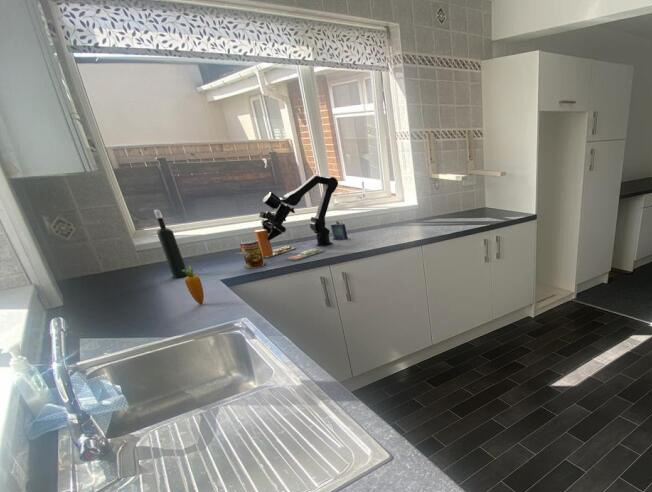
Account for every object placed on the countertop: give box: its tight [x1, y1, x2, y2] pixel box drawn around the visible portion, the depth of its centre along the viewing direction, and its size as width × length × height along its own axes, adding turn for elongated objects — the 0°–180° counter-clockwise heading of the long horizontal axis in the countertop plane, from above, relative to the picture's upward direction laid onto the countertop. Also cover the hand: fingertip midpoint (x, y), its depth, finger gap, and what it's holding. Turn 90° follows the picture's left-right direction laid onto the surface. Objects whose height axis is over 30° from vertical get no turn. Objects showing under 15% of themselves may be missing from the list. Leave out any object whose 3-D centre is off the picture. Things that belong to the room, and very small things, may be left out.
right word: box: [286, 248, 324, 261], centre depth 225 cm, size 19×7×2 cm, turn 158°
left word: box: [262, 245, 297, 258], centre depth 232 cm, size 19×7×2 cm, turn 158°
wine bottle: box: [153, 209, 188, 279], centre depth 190 cm, size 6×6×30 cm
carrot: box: [182, 265, 205, 306], centre depth 158 cm, size 5×5×15 cm
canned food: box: [239, 239, 265, 269], centre depth 207 cm, size 8×8×12 cm
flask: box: [329, 220, 348, 240], centre depth 257 cm, size 9×3×11 cm, turn 84°
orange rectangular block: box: [253, 228, 273, 256], centre depth 223 cm, size 5×4×13 cm
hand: (264, 238), depth 223 cm, fingers open, 9 cm apart
